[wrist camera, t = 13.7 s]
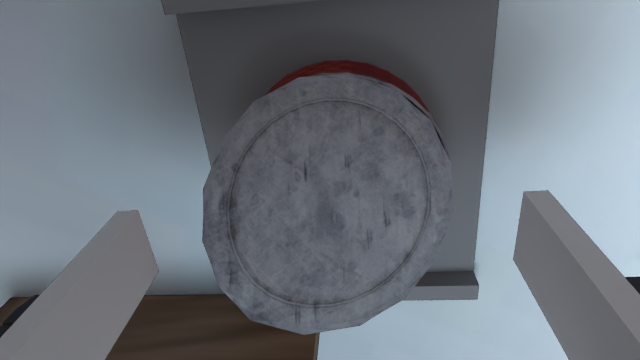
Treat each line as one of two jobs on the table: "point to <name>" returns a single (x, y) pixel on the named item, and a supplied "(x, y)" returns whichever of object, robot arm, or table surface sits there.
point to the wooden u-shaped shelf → (199, 332)
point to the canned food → (327, 198)
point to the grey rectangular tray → (367, 46)
